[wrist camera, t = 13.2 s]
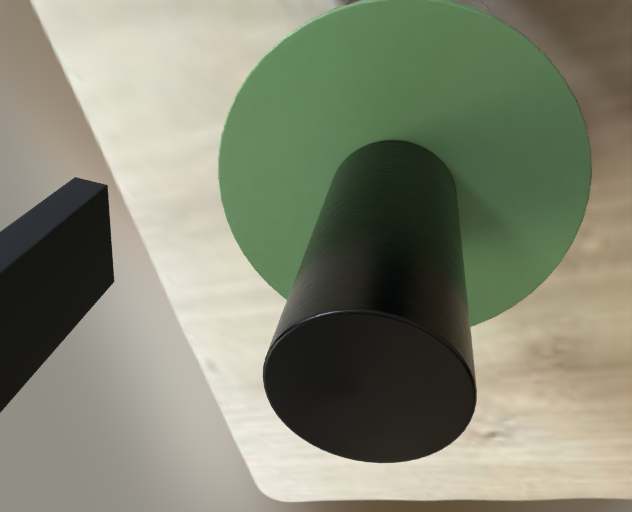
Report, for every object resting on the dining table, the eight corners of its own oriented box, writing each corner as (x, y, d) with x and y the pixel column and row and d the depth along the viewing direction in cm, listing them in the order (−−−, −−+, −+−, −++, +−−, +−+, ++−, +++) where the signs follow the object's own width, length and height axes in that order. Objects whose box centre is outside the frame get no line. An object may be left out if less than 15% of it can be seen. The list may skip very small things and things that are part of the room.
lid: (556, -79, 13) (750, -79, 5) (598, 289, 18) (726, 566, 10) (171, 69, 17) (-54, 198, 9) (298, 337, 22) (226, 566, 14)
